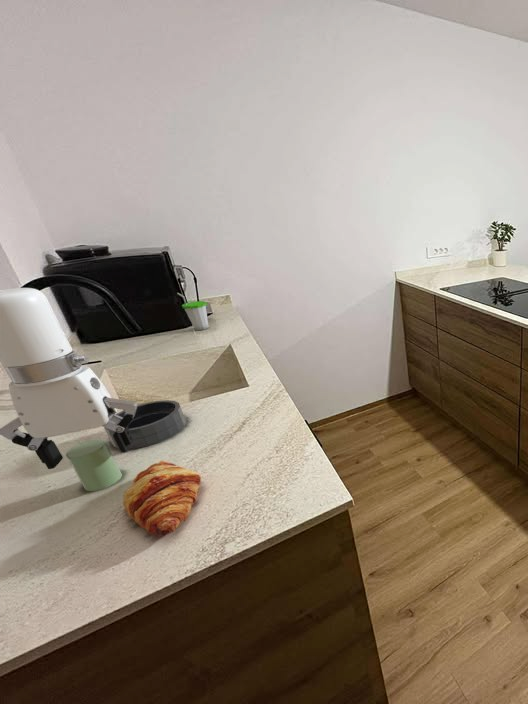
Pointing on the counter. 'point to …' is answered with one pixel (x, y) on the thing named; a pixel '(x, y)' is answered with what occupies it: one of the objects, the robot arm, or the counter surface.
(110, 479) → the mint green cylinder
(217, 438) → the counter surface
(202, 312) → the cup
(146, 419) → the basin
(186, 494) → the croissant
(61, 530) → the counter surface
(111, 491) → the counter surface
